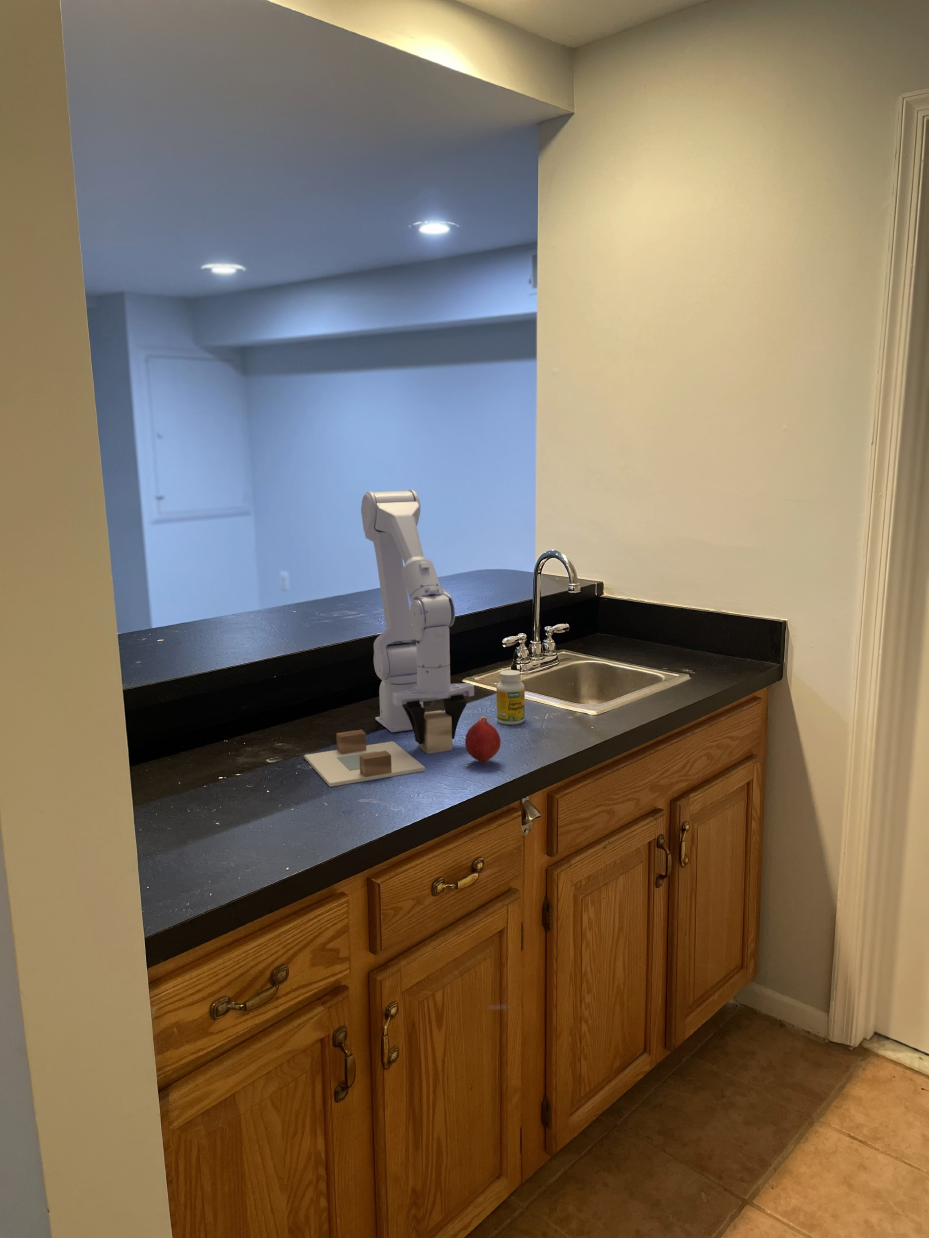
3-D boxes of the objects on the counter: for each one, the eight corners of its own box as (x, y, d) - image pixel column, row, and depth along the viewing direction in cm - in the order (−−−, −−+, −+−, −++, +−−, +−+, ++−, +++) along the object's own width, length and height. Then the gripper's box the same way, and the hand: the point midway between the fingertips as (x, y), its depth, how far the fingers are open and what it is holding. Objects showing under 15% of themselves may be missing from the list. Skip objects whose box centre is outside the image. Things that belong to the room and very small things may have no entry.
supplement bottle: (513, 715, 182) (513, 667, 181) (530, 722, 178) (530, 673, 176) (491, 720, 179) (490, 671, 178) (507, 727, 175) (507, 677, 173)
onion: (475, 771, 152) (475, 724, 150) (459, 761, 157) (458, 715, 155) (506, 765, 154) (506, 718, 153) (489, 755, 159) (489, 710, 158)
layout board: (304, 758, 159) (304, 754, 159) (393, 744, 166) (392, 740, 166) (329, 786, 146) (329, 782, 146) (424, 770, 152) (424, 766, 152)
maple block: (418, 746, 165) (417, 713, 164) (441, 742, 167) (441, 710, 166) (428, 753, 161) (427, 720, 160) (452, 749, 163) (451, 716, 162)
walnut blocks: (337, 749, 162) (336, 733, 161) (361, 746, 163) (361, 729, 163) (364, 777, 148) (364, 759, 148) (391, 772, 150) (391, 754, 150)
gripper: (402, 674, 155) (404, 752, 157) (481, 664, 160) (482, 740, 163) (387, 665, 161) (389, 740, 163) (464, 656, 167) (465, 729, 169)
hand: (435, 739), depth 164 cm, fingers open, 5 cm apart
